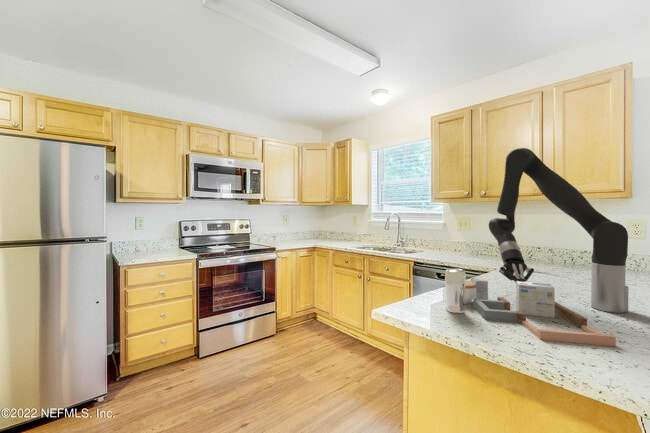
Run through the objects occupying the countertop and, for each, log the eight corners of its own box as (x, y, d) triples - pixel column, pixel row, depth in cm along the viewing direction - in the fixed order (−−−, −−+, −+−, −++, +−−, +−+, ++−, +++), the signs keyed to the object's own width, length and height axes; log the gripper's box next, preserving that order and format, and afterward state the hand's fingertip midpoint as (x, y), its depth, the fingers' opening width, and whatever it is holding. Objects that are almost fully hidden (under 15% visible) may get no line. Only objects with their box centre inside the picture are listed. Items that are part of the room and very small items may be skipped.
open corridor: (552, 308, 110) (552, 300, 110) (587, 328, 91) (587, 318, 91) (497, 304, 115) (497, 296, 115) (519, 322, 95) (519, 313, 95)
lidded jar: (448, 296, 126) (449, 274, 126) (476, 300, 121) (477, 277, 120) (445, 302, 117) (445, 279, 117) (475, 307, 111) (475, 282, 111)
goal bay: (587, 329, 90) (587, 321, 90) (615, 346, 79) (615, 337, 79) (522, 324, 94) (522, 316, 94) (540, 339, 83) (540, 330, 83)
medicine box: (488, 302, 117) (488, 281, 117) (476, 301, 118) (476, 280, 118) (481, 297, 125) (481, 277, 125) (470, 296, 126) (470, 276, 126)
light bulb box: (549, 312, 106) (550, 283, 105) (555, 318, 99) (555, 287, 99) (515, 308, 110) (515, 280, 110) (518, 314, 104) (518, 284, 104)
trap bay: (502, 308, 110) (502, 300, 110) (517, 321, 96) (517, 312, 96) (473, 306, 112) (473, 298, 112) (484, 319, 98) (484, 310, 98)
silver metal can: (469, 314, 104) (469, 272, 103) (449, 313, 104) (449, 272, 103) (460, 307, 110) (460, 268, 110) (441, 307, 111) (442, 268, 110)
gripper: (496, 247, 125) (506, 282, 113) (531, 249, 122) (545, 285, 110) (491, 258, 130) (501, 292, 118) (525, 259, 127) (538, 295, 115)
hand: (522, 289), depth 114 cm, fingers closed
